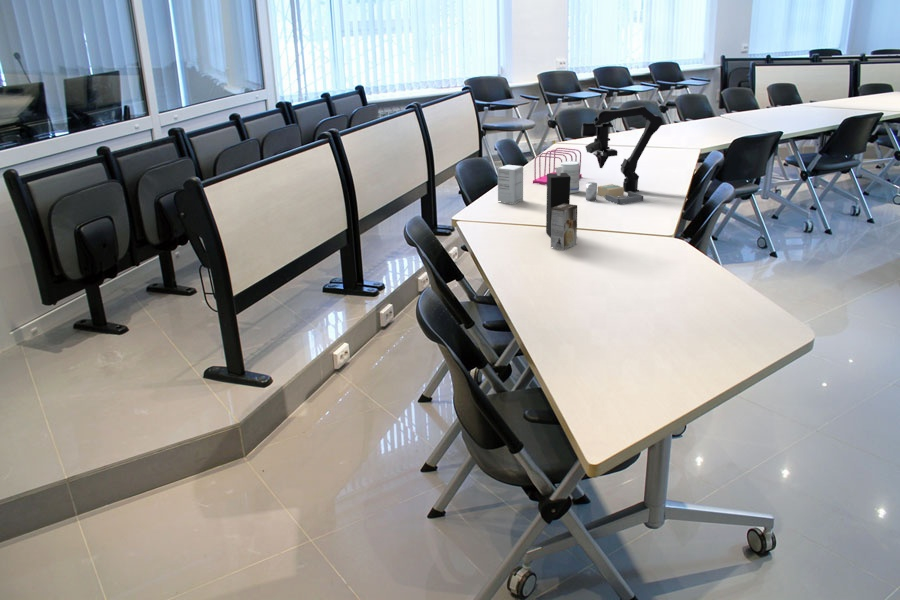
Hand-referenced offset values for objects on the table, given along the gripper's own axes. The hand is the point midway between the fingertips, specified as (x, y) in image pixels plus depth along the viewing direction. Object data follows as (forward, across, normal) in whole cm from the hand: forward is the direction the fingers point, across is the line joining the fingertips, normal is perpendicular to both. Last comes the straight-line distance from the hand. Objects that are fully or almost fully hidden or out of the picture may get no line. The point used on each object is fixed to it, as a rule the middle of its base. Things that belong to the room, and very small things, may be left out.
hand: (601, 168), depth 361 cm
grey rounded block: (+12, +12, -13) cm, 21 cm away
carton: (+12, +9, 0) cm, 15 cm away
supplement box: (+12, -5, -48) cm, 50 cm away
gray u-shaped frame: (+12, +20, 0) cm, 24 cm away
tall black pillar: (+12, +55, -57) cm, 80 cm away
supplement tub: (+12, -8, -13) cm, 20 cm away
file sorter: (+12, -34, -5) cm, 37 cm away
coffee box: (+12, +70, -63) cm, 95 cm away
